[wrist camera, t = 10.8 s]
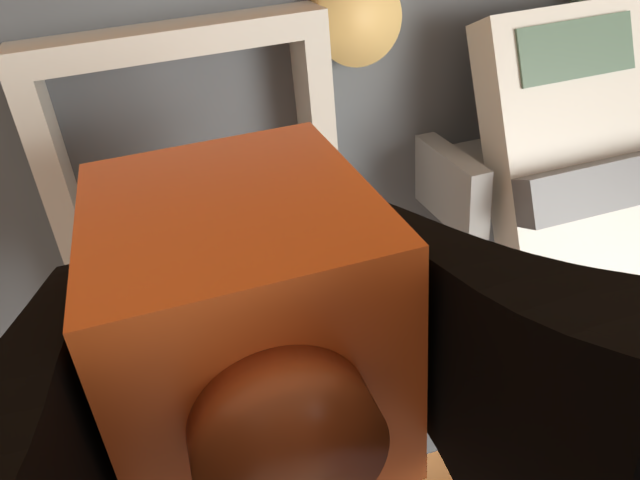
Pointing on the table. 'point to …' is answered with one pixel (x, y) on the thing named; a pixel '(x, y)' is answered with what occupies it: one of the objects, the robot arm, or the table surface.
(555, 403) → the robot arm
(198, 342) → the cap
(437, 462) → the table surface
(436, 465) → the table surface
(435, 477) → the table surface
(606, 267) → the rocker
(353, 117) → the breaker panel
